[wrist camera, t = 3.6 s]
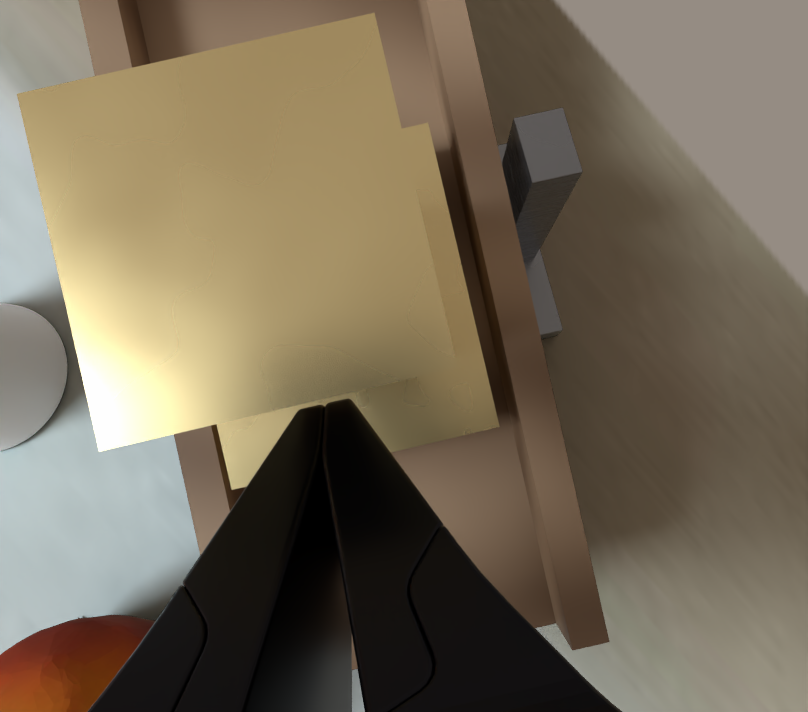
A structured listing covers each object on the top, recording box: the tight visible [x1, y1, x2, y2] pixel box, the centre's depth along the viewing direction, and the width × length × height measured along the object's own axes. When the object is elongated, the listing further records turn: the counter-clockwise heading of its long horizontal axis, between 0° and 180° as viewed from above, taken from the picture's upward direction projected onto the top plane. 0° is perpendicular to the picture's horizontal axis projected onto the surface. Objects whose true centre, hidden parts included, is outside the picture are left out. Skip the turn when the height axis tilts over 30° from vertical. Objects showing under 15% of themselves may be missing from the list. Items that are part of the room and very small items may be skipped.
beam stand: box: [498, 108, 583, 339], centre depth 19 cm, size 8×15×8 cm, turn 103°
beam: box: [79, 0, 609, 670], centre depth 17 cm, size 26×11×4 cm, turn 12°
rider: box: [17, 13, 500, 490], centre depth 11 cm, size 8×7×10 cm
